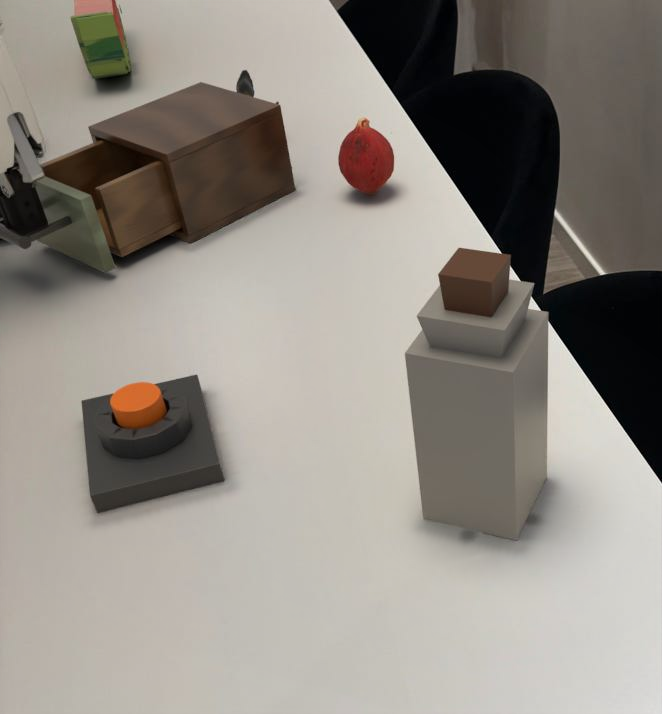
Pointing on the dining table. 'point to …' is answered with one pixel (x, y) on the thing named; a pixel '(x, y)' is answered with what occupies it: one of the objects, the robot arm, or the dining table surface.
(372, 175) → the pomegranate
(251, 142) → the drawer cabinet
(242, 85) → the eagle figurine
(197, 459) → the block
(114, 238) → the wooden drawer
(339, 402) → the dining table surface
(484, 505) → the perfume bottle
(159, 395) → the button
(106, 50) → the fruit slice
